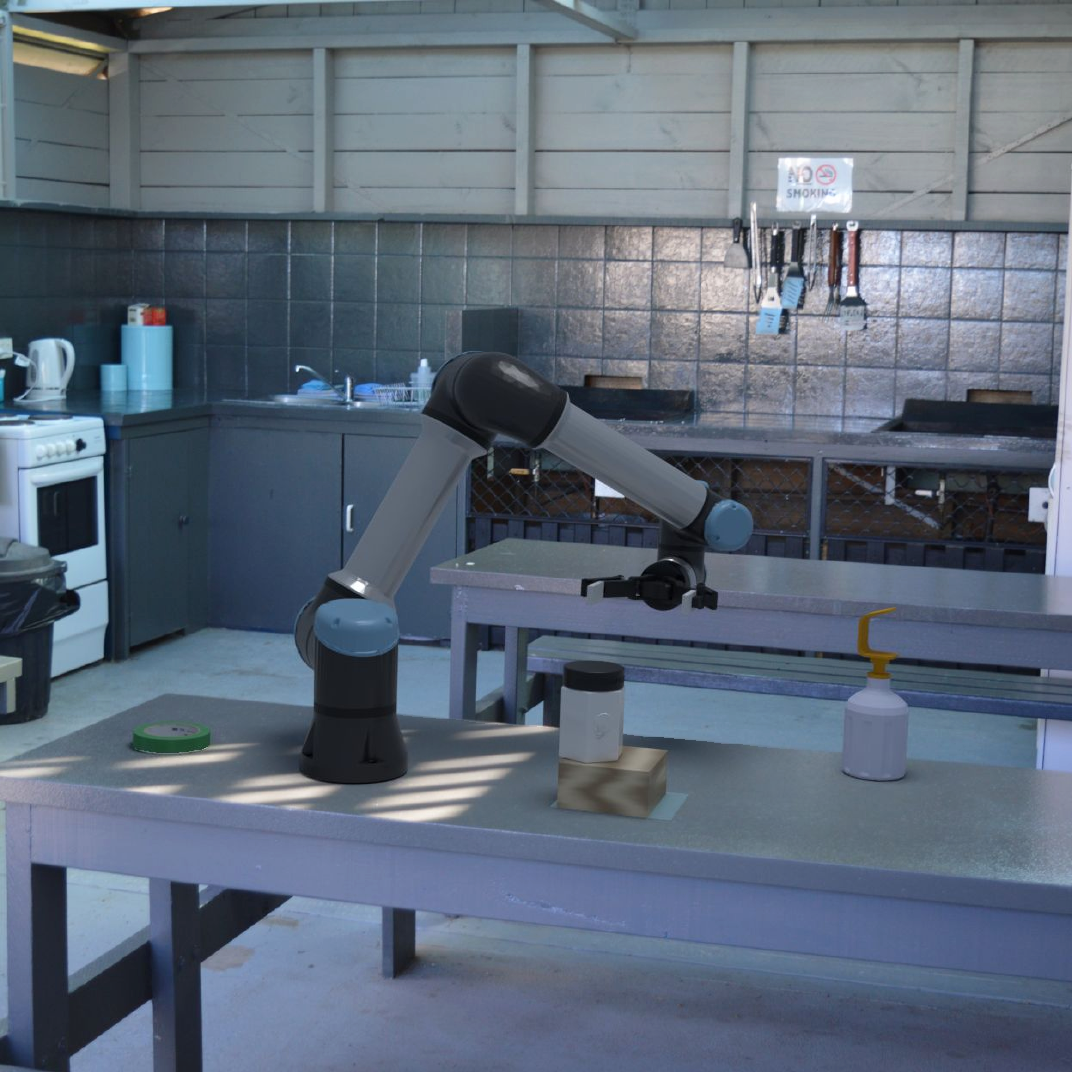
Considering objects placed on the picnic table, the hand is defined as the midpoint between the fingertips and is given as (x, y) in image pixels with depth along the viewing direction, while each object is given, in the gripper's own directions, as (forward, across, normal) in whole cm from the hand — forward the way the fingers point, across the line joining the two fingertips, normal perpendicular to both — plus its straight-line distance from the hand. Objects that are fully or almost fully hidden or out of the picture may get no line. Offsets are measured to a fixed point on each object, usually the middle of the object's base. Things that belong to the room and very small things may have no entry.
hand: (636, 600), depth 207 cm
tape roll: (+9, +67, -28) cm, 73 cm away
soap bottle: (-17, -33, -25) cm, 45 cm away
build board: (+12, -2, -26) cm, 28 cm away
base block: (+13, -1, -25) cm, 28 cm away
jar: (+14, +2, -20) cm, 24 cm away
